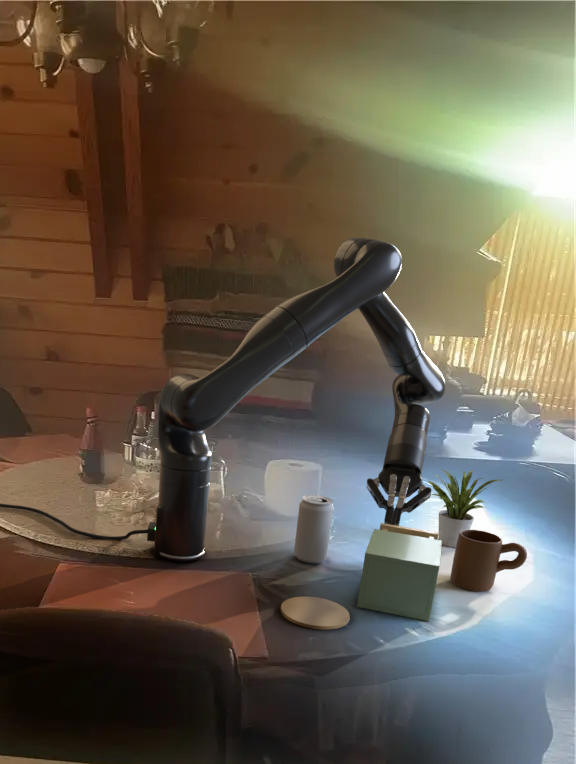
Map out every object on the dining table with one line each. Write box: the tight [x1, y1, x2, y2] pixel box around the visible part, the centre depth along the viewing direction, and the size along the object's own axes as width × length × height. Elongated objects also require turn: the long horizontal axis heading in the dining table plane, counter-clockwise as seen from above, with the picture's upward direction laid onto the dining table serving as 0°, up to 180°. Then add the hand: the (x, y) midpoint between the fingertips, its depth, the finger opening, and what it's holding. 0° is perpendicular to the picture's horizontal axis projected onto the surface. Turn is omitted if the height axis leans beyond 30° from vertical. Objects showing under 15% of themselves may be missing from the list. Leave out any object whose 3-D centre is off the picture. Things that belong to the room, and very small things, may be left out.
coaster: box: [280, 596, 351, 631], centre depth 121 cm, size 11×11×1 cm
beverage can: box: [293, 494, 335, 564], centre depth 143 cm, size 6×6×12 cm
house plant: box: [427, 468, 502, 548], centre depth 158 cm, size 14×14×16 cm
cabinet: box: [356, 528, 443, 622], centre depth 128 cm, size 14×12×10 cm
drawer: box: [379, 522, 439, 540], centre depth 136 cm, size 14×10×8 cm
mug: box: [450, 529, 528, 592], centre depth 137 cm, size 12×8×9 cm, turn 71°
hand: (390, 527), depth 145 cm, fingers closed
